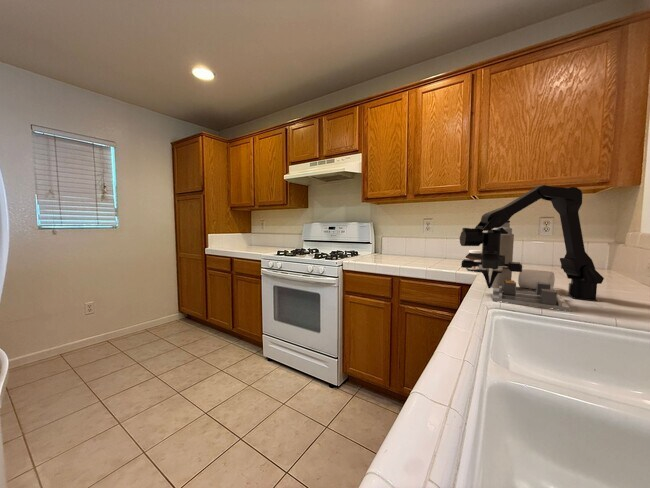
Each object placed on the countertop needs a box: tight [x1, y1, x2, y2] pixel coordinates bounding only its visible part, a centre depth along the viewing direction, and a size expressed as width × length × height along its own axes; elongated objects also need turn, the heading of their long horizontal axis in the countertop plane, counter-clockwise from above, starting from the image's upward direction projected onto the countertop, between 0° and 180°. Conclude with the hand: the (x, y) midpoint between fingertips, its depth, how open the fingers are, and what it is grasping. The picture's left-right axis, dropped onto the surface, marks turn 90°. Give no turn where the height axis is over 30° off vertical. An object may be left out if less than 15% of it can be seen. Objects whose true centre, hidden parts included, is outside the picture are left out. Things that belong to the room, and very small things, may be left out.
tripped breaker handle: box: [503, 279, 517, 295], centre depth 96 cm, size 4×4×5 cm
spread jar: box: [464, 249, 489, 273], centre depth 151 cm, size 12×11×12 cm
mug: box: [517, 268, 556, 291], centre depth 109 cm, size 12×10×8 cm
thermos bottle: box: [489, 220, 515, 289], centre depth 112 cm, size 8×8×28 cm
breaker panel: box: [491, 282, 571, 312], centre depth 93 cm, size 20×17×5 cm
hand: (489, 288), depth 99 cm, fingers closed
